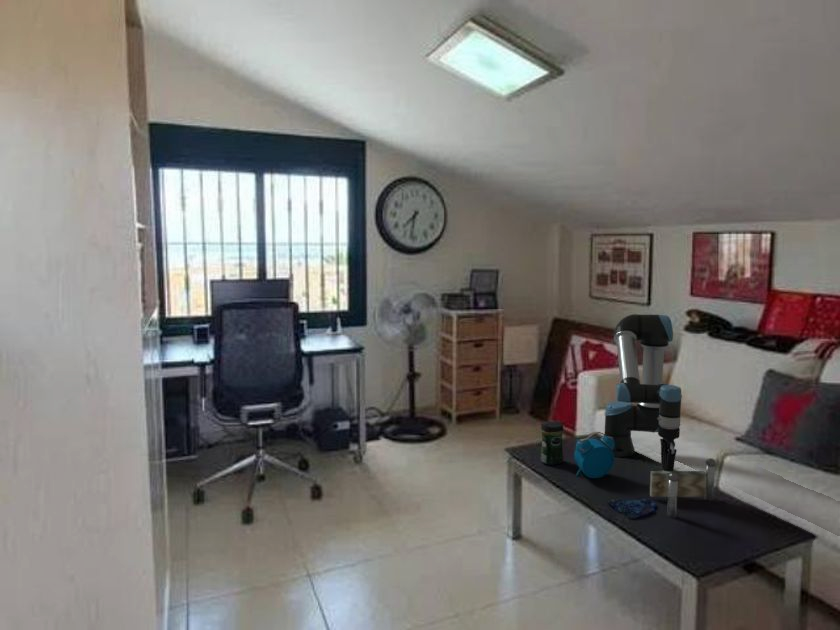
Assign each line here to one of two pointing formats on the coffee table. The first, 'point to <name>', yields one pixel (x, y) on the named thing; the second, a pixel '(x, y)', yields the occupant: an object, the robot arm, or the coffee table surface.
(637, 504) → the rock
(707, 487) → the gate posts
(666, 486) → the gate
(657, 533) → the coffee table surface
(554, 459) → the coffee jar
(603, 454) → the alarm clock
